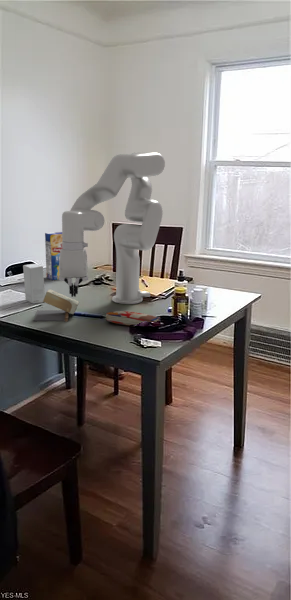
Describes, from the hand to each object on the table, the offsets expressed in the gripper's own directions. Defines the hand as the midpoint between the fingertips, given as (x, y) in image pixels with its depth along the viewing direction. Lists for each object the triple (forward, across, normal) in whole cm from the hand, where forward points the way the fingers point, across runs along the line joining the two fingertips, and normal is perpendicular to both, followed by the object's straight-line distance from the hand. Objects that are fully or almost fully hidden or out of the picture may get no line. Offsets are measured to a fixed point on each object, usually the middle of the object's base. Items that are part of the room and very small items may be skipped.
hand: (73, 295), depth 178 cm
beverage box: (+8, +9, -64) cm, 65 cm away
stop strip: (+8, +2, 0) cm, 8 cm away
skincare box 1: (+8, +16, -21) cm, 28 cm away
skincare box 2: (+5, -1, -1) cm, 5 cm away
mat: (+8, +8, 0) cm, 12 cm away
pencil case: (+8, -21, +12) cm, 25 cm away
